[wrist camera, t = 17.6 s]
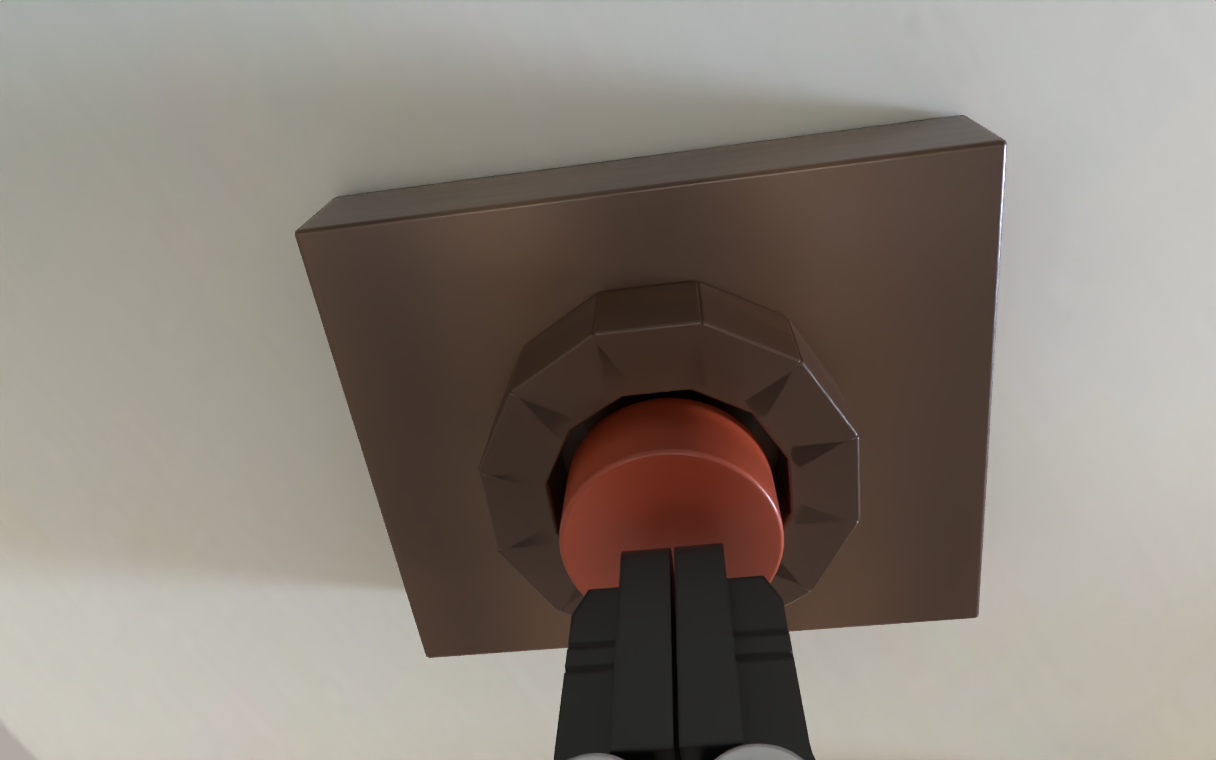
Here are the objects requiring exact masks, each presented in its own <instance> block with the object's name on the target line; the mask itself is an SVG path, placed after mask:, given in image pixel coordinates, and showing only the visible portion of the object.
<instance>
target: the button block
mask: <svg viewBox="0 0 1216 760" xmlns="http://www.w3.org/2000/svg"><path fill="white" fill-rule="evenodd" d="M1006 151H1007V143H1006V141H1005V140H1004V139H1002V138H1001V137H999V136H997V135H996V134H994V133H993V132H991V131H989V130H988V129H986V128H984V127H983V126H981V125H980V124H978V123H976V122H975V121H973V120H971V119H970V118H968V117H967V116H964V115H960V116H952V117H945V118H937V119H929V120H922V121H914V122H907V123H899V124H891V125H884V126H876V127H868V128H861V129H853V130H846V131H838V132H830V133H823V134H815V135H808V136H800V137H792V138H785V139H777V140H770V141H762V142H754V143H747V144H739V145H731V146H724V147H716V148H709V149H701V150H693V151H686V152H678V153H671V154H663V155H655V156H648V157H640V158H632V159H625V160H617V161H610V162H602V163H594V164H587V165H579V166H572V167H564V168H556V169H549V170H541V171H533V172H526V173H518V174H511V175H503V176H495V177H488V178H480V179H473V180H465V181H457V182H450V183H442V184H435V185H427V186H419V187H412V188H404V189H396V190H389V191H381V192H374V193H366V194H358V195H351V196H343V197H336V198H334V199H332V200H331V201H330V202H329V203H328V204H327V205H325V206H324V207H323V208H322V209H321V210H320V211H318V212H317V213H316V214H315V215H314V216H313V217H311V218H310V219H309V220H308V221H307V222H306V223H304V224H303V225H302V226H301V227H300V228H299V229H297V230H296V231H295V237H296V240H297V243H298V246H299V250H300V253H301V256H302V259H303V262H304V266H305V269H306V272H307V275H308V278H309V282H310V285H311V288H312V291H313V294H314V298H315V301H316V304H317V307H318V311H319V314H320V317H321V320H322V323H323V327H324V330H325V333H326V336H327V339H328V343H329V346H330V349H331V352H332V355H333V359H334V362H335V365H336V368H337V371H338V375H339V378H340V381H341V384H342V388H343V391H344V394H345V397H346V400H347V404H348V407H349V410H350V413H351V416H352V420H353V423H354V426H355V429H356V432H357V436H358V439H359V442H360V445H361V448H362V452H363V455H364V458H365V461H366V464H367V468H368V471H369V474H370V477H371V481H372V484H373V487H374V490H375V493H376V497H377V500H378V503H379V506H380V509H381V513H382V516H383V519H384V522H385V525H386V529H387V532H388V535H389V538H390V541H391V545H392V548H393V551H394V554H395V558H396V561H397V564H398V567H399V570H400V574H401V577H402V580H403V583H404V586H405V590H406V593H407V596H408V599H409V602H410V606H411V609H412V612H413V615H414V618H415V622H416V625H417V628H418V631H419V635H420V638H421V641H422V644H423V647H424V651H425V654H426V656H427V657H429V658H433V657H447V656H460V655H474V654H488V653H501V652H515V651H529V650H542V649H556V648H568V640H569V632H570V624H571V616H572V614H573V612H574V611H575V609H576V608H577V606H578V605H579V603H580V602H581V600H582V599H583V597H584V596H583V595H582V594H581V592H580V591H579V590H578V589H577V588H576V586H575V585H574V583H573V582H572V580H571V579H570V577H569V575H568V573H567V571H566V569H565V566H564V564H563V561H562V557H561V554H560V546H559V530H560V523H561V517H562V510H563V504H564V498H565V491H566V485H567V479H568V473H569V468H570V463H571V461H572V458H573V455H574V453H575V451H576V449H577V447H578V445H579V444H580V442H581V441H582V440H583V438H584V437H585V436H586V434H587V433H588V432H589V431H590V430H591V429H592V428H593V427H594V426H595V425H596V424H597V423H599V422H600V421H601V420H603V419H604V418H605V417H607V416H608V415H610V414H612V413H613V412H615V411H617V410H619V409H621V408H624V407H626V406H628V405H631V404H634V403H638V402H641V401H645V400H651V399H657V398H681V399H689V400H694V401H699V402H702V403H706V404H709V405H712V406H714V407H716V408H719V409H721V410H723V411H725V412H727V413H728V414H730V415H731V416H733V417H735V418H736V419H738V420H739V421H740V422H741V423H743V424H744V425H745V426H746V427H747V428H748V429H749V430H750V431H751V432H752V433H753V434H754V435H755V437H756V438H757V439H758V441H759V442H760V444H761V445H762V447H763V449H764V451H765V453H766V455H767V458H768V461H769V464H770V467H771V472H772V476H773V481H774V486H775V490H776V495H777V500H778V504H779V509H780V514H781V518H782V523H783V530H784V549H783V554H782V559H781V562H780V565H779V568H778V570H777V572H776V574H775V576H774V578H773V580H772V581H771V583H770V584H771V585H772V587H773V588H774V589H775V590H776V591H777V593H778V594H779V595H780V596H781V598H782V599H783V603H784V608H785V614H786V619H787V624H788V631H802V630H815V629H829V628H843V627H856V626H870V625H884V624H897V623H911V622H924V621H938V620H952V619H965V618H976V617H978V614H979V598H980V581H981V565H982V548H983V532H984V515H985V499H986V482H987V466H988V449H989V432H990V416H991V399H992V383H993V366H994V350H995V333H996V317H997V300H998V283H999V267H1000V250H1001V234H1002V217H1003V201H1004V184H1005V167H1006Z"/></svg>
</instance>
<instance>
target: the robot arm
mask: <svg viewBox="0 0 1216 760" xmlns="http://www.w3.org/2000/svg"><path fill="white" fill-rule="evenodd" d="M674 567H675V572H674ZM565 671H566V672H565V673H564V680H563V688H562V696H561V704H560V712H559V721H558V729H557V737H556V745H555V753H554V760H815V758H814V756H813V754H812V750H811V747H810V743H809V737H808V732H807V727H806V721H805V716H804V711H803V705H802V700H801V694H800V689H799V684H798V678H797V673H796V667H795V662H794V657H793V652H792V646H791V641H790V635H789V631H788V624H787V619H786V614H785V608H784V603H783V599H782V598H781V596H780V595H779V594H778V593H777V591H776V590H775V589H774V588H773V587H772V585H771V584H770V583H769V582H768V580H767V579H766V578H765V577H764V576H750V577H738V578H727V576H726V566H725V557H724V547H723V543H715V544H703V545H691V546H680V547H674V565H673V558H672V552H671V548H658V549H646V550H634V551H622V553H621V560H620V577H619V587H614V588H602V589H589V590H588V591H587V593H586V594H585V596H584V597H583V599H582V600H581V602H580V603H579V605H578V606H577V608H576V609H575V611H574V612H573V614H572V616H571V624H570V632H569V640H568V649H567V656H566V664H565Z"/></svg>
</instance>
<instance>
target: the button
mask: <svg viewBox="0 0 1216 760" xmlns="http://www.w3.org/2000/svg"><path fill="white" fill-rule="evenodd" d="M715 543H723V547H724V557H725V566H726V576H727V578H738V577H750V576H764V577H765V578H766V579H767V580H768V582H769V583H771V581H772V580H773V578H774V576H775V574H776V572H777V570H778V568H779V565H780V562H781V559H782V554H783V549H784V530H783V523H782V518H781V514H780V509H779V504H778V500H777V495H776V490H775V486H774V481H773V476H772V472H771V467H770V464H769V461H768V458H767V455H766V453H765V451H764V449H763V447H762V445H761V444H760V442H759V441H758V439H757V438H756V437H755V435H754V434H753V433H752V432H751V431H750V430H749V429H748V428H747V427H746V426H745V425H744V424H743V423H741V422H740V421H739V420H738V419H736V418H735V417H733V416H731V415H730V414H728V413H727V412H725V411H723V410H721V409H719V408H716V407H714V406H712V405H709V404H706V403H702V402H699V401H694V400H689V399H681V398H657V399H651V400H645V401H641V402H638V403H634V404H631V405H628V406H626V407H624V408H621V409H619V410H617V411H615V412H613V413H612V414H610V415H608V416H607V417H605V418H604V419H603V420H601V421H600V422H599V423H597V424H596V425H595V426H594V427H593V428H592V429H591V430H590V431H589V432H588V433H587V434H586V436H585V437H584V438H583V440H582V441H581V442H580V444H579V445H578V447H577V449H576V451H575V453H574V455H573V458H572V461H571V463H570V468H569V473H568V479H567V485H566V491H565V498H564V504H563V510H562V517H561V523H560V530H559V546H560V554H561V557H562V561H563V564H564V566H565V569H566V571H567V573H568V575H569V577H570V579H571V580H572V582H573V583H574V585H575V586H576V588H577V589H578V590H579V591H580V592H581V594H582V595H583V596H585V594H586V593H587V591H588V590H589V589H602V588H614V587H619V577H620V560H621V553H622V551H634V550H646V549H658V548H671V552H672V558H673V565H674V547H680V546H691V545H703V544H715ZM674 572H675V567H674Z"/></svg>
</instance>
